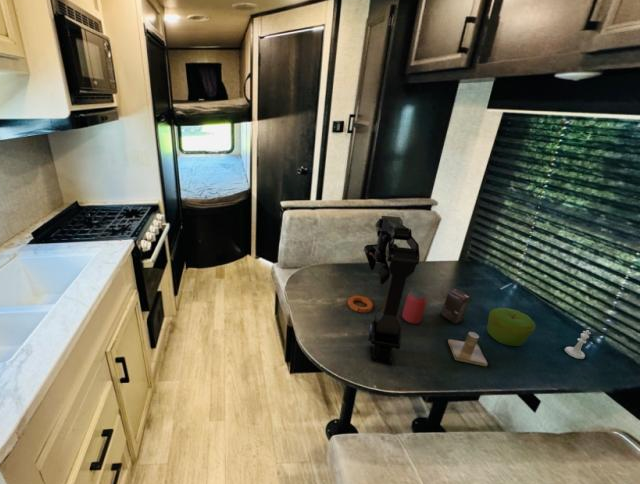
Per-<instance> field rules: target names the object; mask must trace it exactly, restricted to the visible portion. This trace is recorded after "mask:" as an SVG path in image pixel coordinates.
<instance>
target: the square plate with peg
mask: <svg viewBox="0 0 640 484" xmlns="http://www.w3.org/2000/svg"><path fill="white" fill-rule="evenodd" d="M479 339H480V335H479V334H478V333H477V332H475V331H468V333H467V335H466V338H465V340H464V341H462V340H456V339H451V338H449V339H448V340H447V342H448V345H449V348H450V350H451V353H452V356H453V358H454V361H458V362H464V363H467V364H473V365H476V366H477V365H478V366H483V367H487V366H488V362H487V360H486V358H485V356H484V354H483V352H482V350H481V348H480V345H479V344H478V341H479Z"/></svg>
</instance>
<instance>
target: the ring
mask: <svg viewBox="0 0 640 484" xmlns="http://www.w3.org/2000/svg"><path fill="white" fill-rule="evenodd" d="M354 302H362V303H364V304H366V306H359V305H357V304H355V303H354ZM347 304H348V307H349V308H350V309H351V310H353V311H355V312H358V313H370V311H372V310H373V307H374V304H373V302H372V301H371V300H370V298H368V297H366V296H362V295H352V296H351V297H349V298H348V300H347Z"/></svg>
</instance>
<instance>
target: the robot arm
mask: <svg viewBox="0 0 640 484" xmlns="http://www.w3.org/2000/svg"><path fill="white" fill-rule="evenodd" d="M403 223H404V222H403V219H402V218H401V217H400V216H391V215H381V217H380V218H379V219H378V220H377V221H376V222H375V224H374V227H375V230H376V235H377V241H376V243H374V244H366V245H365V246H364V248H363V251H364V254H365V257H366V259H367V263H368V265H369V269H370V270H371V271H373V270H375V268H376V264H377V263H379V264H380V265H381V267H380V268H379V269H378V270H379V272H378V278H379V283H380V285H384V284H385V283H386V282H387V286H386V290H385V294H384V299H383V304H382V307H381V309H377V310H376V311H375V315H374V319H373V320H372V321H371V322H370V324H369V332H368V333H369V334H368V341H369V342H370V344H371V345H370V347H369V349H370V350H369V351H370V361H372V362H376V363H381V364H385V365H390V366H392V365H393V359H392V353H393V352H392V351H393V349H396V350H400V348H401V343H402V342H401V338H402V337H401V336H402V334H401V333H402V327H401V324H400V320H399V317H398V313H399V309H400V304H401V301H402V297H403V292H404V289H405V284H406V280H407V278H408V277H409V276H411V275H412V274H413V273H415V270H416V267H417V266H418V265H419V262H420V255H421V254H420V246H419V243H418V242H417V241H416V239H415V238H414V237H413V234H412V233H413V232H412V229H411V228H409V227H407V226H405V225H404V224H403ZM395 240H397V241H406V244H407V245H408V246H409V247H400V246H398V245H397V244H396V243H395Z"/></svg>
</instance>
